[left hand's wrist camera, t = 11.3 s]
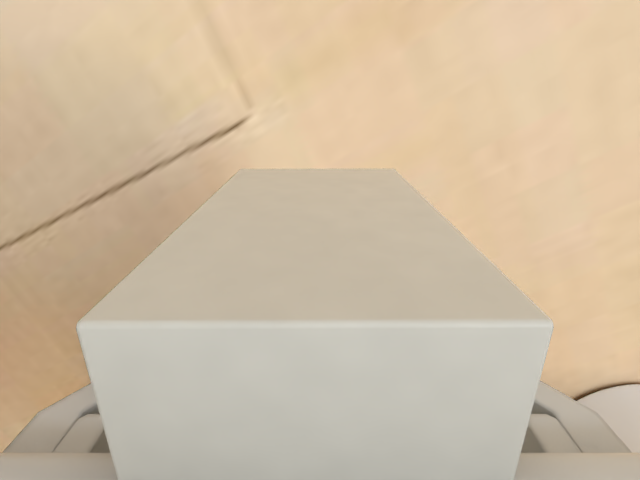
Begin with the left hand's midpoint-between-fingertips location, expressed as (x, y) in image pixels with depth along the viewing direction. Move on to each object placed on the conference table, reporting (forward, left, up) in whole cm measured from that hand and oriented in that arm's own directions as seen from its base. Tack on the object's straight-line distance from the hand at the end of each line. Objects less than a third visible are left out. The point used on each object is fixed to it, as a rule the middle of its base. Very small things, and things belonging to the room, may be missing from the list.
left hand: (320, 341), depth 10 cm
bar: (-6, +8, -4) cm, 10 cm away
